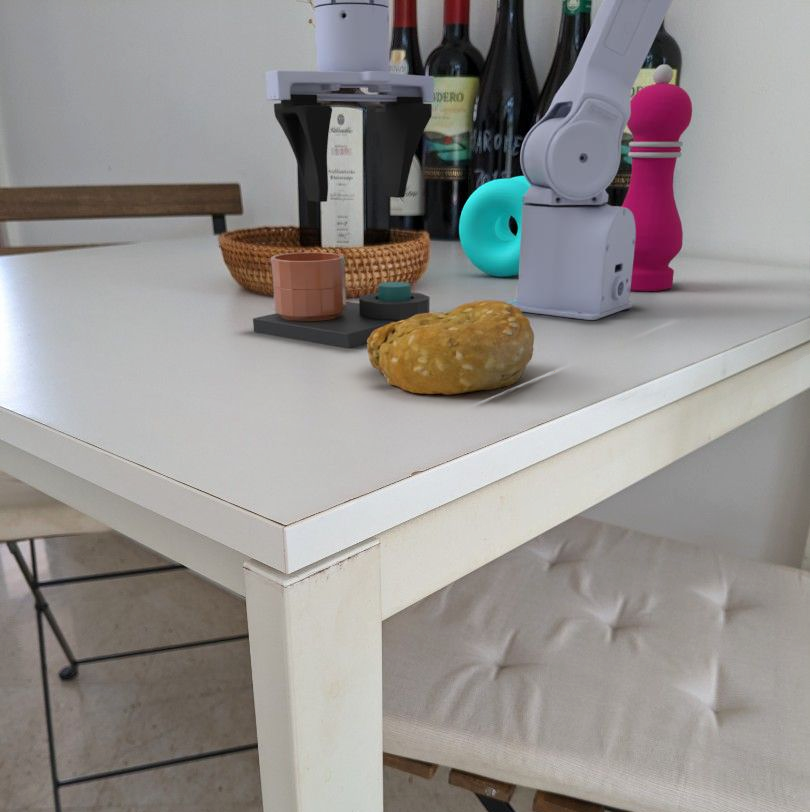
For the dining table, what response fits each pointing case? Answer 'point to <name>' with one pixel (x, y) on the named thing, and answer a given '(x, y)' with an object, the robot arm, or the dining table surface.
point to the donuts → (494, 226)
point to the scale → (345, 321)
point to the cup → (309, 285)
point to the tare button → (394, 291)
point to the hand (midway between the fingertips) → (357, 199)
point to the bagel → (454, 349)
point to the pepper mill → (656, 178)
